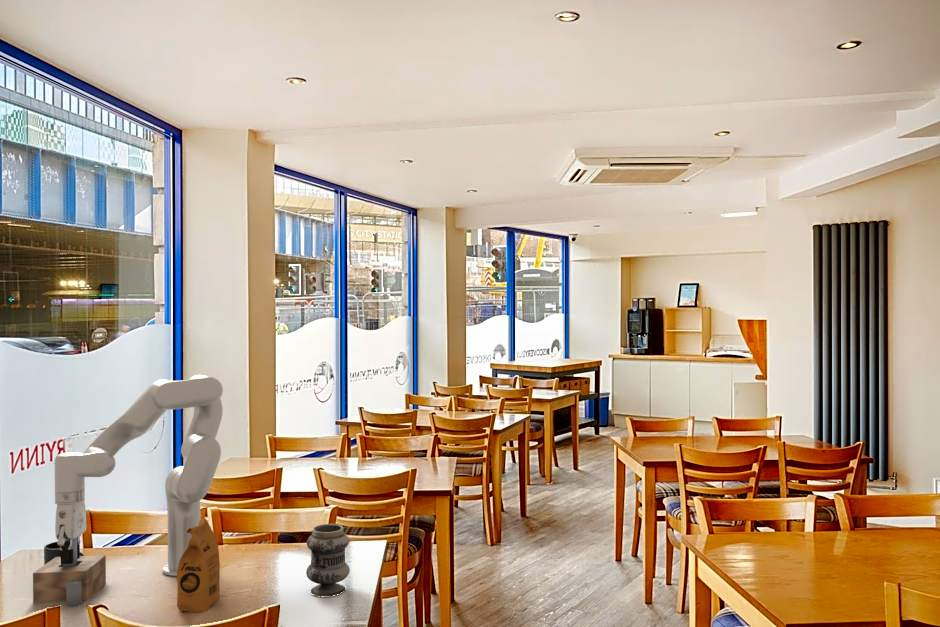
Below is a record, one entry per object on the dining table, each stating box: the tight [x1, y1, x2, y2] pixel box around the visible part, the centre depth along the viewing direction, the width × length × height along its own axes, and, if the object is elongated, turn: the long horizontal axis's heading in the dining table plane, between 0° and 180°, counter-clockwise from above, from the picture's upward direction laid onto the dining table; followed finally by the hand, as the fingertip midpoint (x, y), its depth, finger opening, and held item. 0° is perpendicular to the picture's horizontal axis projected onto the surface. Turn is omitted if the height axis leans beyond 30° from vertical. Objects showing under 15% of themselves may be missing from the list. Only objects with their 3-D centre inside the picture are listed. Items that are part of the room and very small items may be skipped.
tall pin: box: [63, 536, 77, 567], centre depth 218 cm, size 4×4×14 cm
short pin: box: [66, 580, 83, 608], centre depth 208 cm, size 4×4×6 cm
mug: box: [43, 540, 85, 566], centre depth 233 cm, size 9×12×9 cm
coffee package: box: [176, 517, 221, 613], centre depth 207 cm, size 10×12×22 cm
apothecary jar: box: [306, 523, 351, 598], centre depth 216 cm, size 12×12×18 cm
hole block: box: [32, 554, 107, 603], centre depth 218 cm, size 14×14×8 cm
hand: (70, 560), depth 218 cm, fingers closed on tall pin, 3 cm apart
